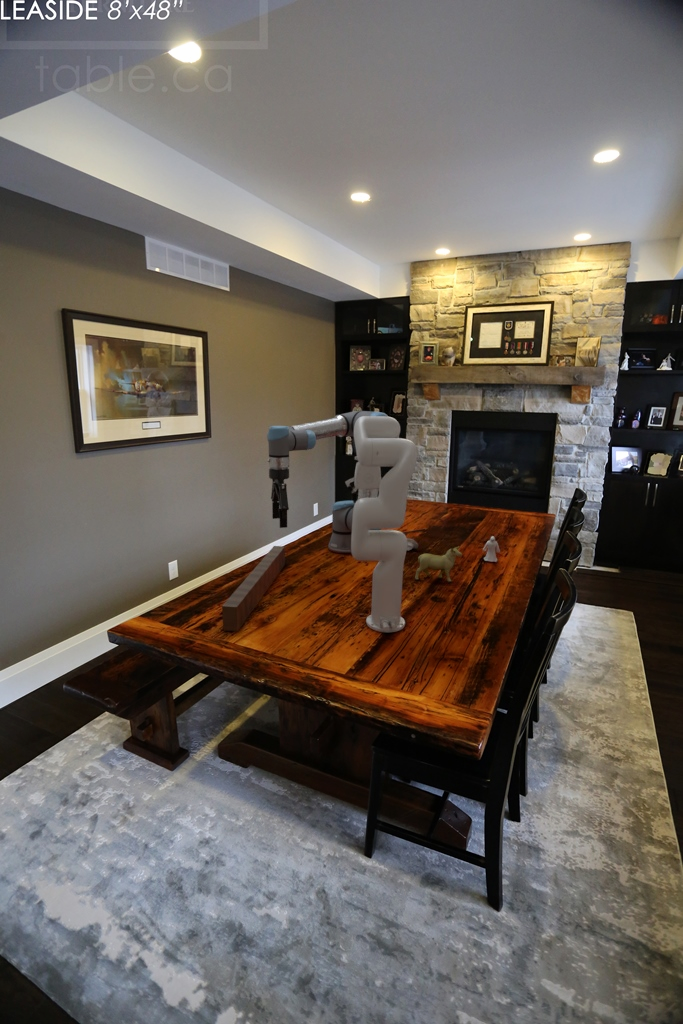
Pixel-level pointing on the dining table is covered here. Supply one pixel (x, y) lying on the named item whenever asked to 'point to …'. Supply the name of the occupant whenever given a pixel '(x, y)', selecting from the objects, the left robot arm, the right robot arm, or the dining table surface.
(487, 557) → the figurine
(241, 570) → the dining table surface
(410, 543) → the seashell
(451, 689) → the dining table surface
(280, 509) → the left robot arm
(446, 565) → the toy
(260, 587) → the bar
